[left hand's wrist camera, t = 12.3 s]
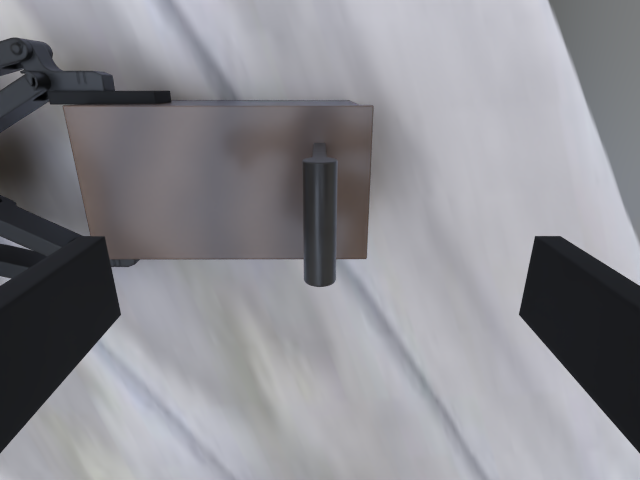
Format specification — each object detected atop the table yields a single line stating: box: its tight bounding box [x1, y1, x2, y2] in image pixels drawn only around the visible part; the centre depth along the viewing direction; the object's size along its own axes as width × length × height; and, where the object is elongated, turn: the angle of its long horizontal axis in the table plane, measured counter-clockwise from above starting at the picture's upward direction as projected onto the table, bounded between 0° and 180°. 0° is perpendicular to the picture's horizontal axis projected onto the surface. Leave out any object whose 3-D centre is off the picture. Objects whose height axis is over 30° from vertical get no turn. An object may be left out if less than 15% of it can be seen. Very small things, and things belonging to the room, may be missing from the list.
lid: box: [63, 105, 373, 287], centre depth 21 cm, size 17×9×8 cm, turn 90°
